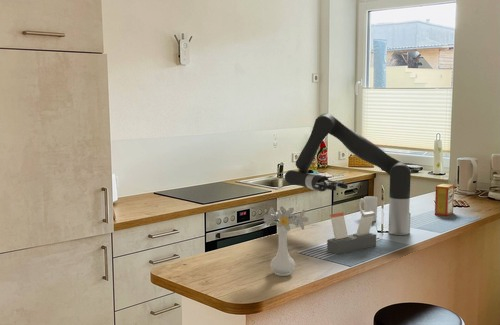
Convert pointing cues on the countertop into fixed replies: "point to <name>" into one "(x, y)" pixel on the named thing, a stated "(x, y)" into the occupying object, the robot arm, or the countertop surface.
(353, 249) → the gray rectangular block
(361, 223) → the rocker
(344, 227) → the panel
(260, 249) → the countertop surface
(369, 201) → the mug
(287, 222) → the flower vase
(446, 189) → the baking soda box
